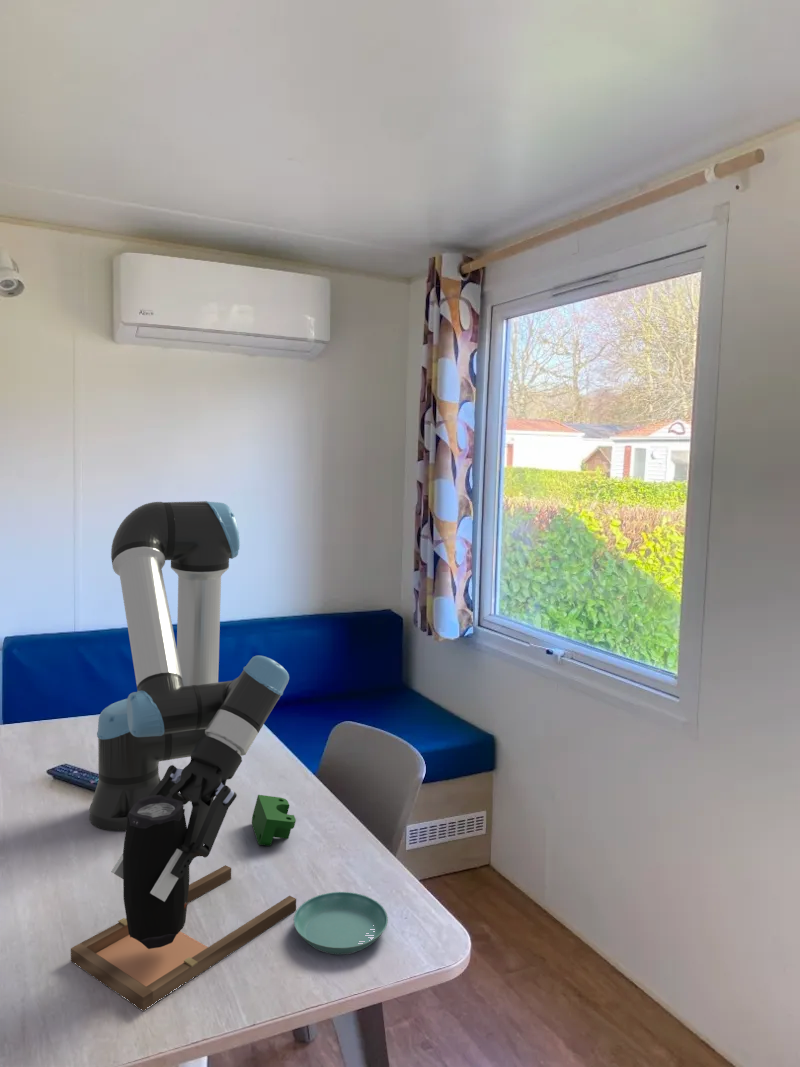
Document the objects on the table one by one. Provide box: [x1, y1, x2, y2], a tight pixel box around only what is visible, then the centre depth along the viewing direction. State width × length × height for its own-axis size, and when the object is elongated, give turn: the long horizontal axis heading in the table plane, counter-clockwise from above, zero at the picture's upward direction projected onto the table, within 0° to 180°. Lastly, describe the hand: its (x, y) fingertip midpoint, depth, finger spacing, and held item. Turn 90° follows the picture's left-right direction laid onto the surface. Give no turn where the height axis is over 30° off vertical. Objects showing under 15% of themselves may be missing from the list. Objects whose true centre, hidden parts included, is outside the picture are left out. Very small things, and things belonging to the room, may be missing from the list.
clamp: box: [251, 794, 297, 847], centre depth 152 cm, size 12×6×9 cm, turn 13°
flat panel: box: [96, 930, 209, 987], centre depth 115 cm, size 14×11×1 cm
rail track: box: [70, 865, 297, 1012], centre depth 120 cm, size 17×30×2 cm, turn 145°
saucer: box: [293, 891, 389, 955], centre depth 121 cm, size 15×15×3 cm
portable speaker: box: [122, 795, 190, 949], centre depth 113 cm, size 9×9×20 cm
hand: (137, 886), depth 110 cm, fingers closed on portable speaker, 8 cm apart
